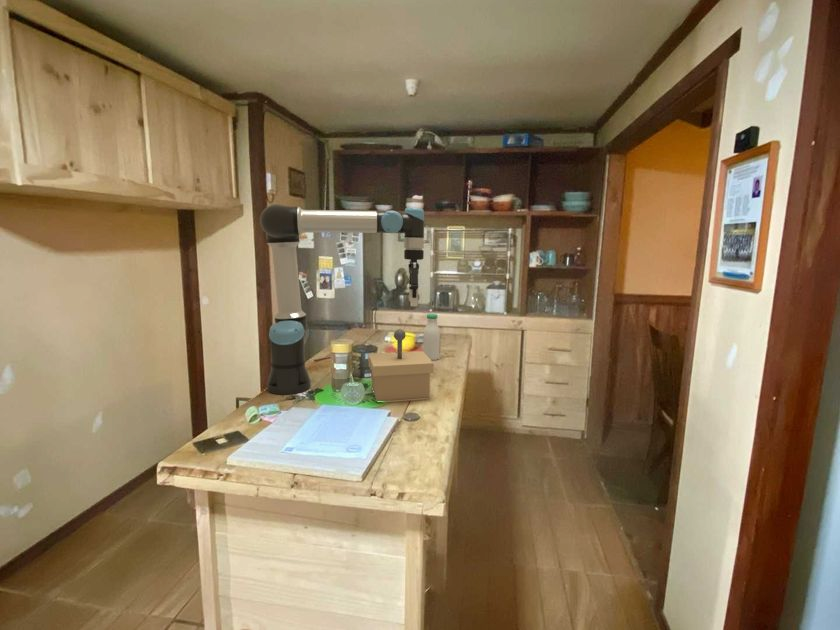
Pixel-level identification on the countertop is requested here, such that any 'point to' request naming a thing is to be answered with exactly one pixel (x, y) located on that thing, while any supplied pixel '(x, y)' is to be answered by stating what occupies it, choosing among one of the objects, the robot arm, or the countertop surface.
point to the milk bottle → (431, 338)
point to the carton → (401, 387)
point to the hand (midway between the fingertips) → (413, 303)
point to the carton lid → (400, 360)
